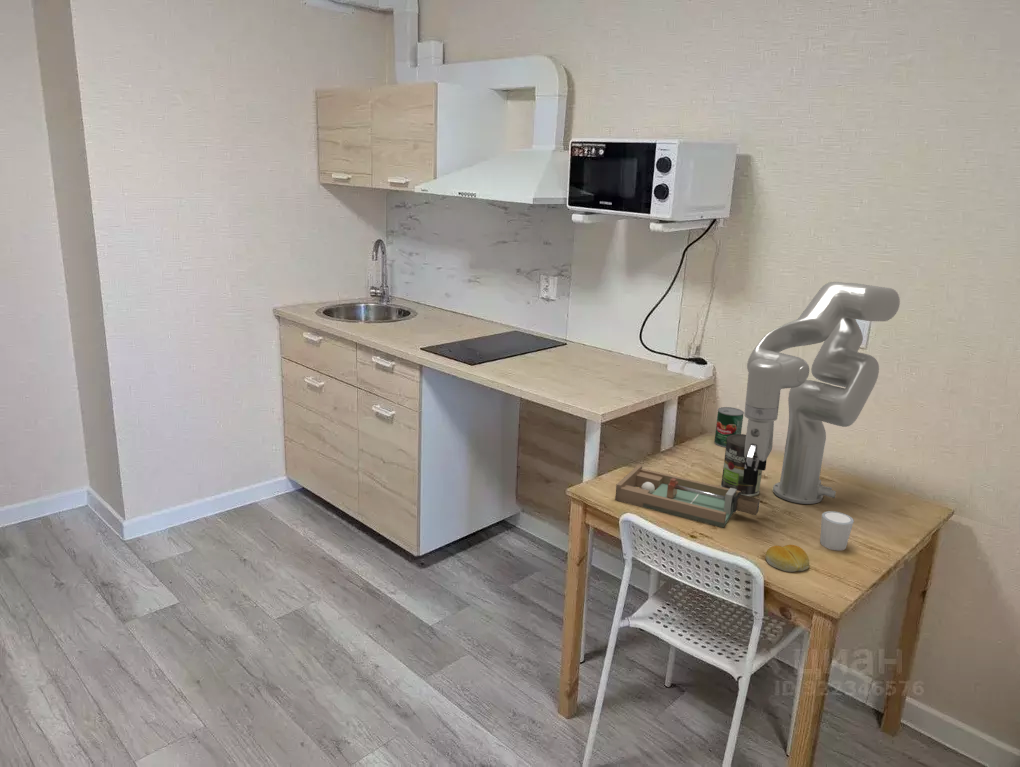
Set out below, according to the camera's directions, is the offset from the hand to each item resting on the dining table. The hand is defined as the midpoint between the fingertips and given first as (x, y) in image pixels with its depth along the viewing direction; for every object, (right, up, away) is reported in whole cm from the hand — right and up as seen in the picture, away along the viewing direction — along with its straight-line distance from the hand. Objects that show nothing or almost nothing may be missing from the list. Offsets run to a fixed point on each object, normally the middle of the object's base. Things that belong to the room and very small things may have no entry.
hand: (754, 476), depth 182 cm
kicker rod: (-9, -8, +6) cm, 13 cm away
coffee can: (+3, -6, +20) cm, 21 cm away
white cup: (+15, -15, -9) cm, 23 cm away
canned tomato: (+9, +4, +54) cm, 55 cm away
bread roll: (+1, -17, -18) cm, 25 cm away
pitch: (-17, -8, +11) cm, 21 cm away
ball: (-24, -5, +14) cm, 28 cm away
